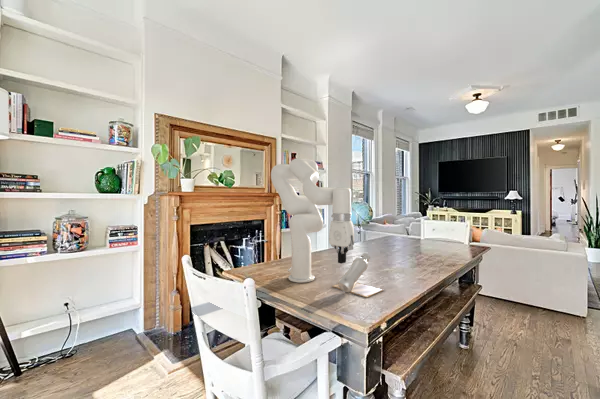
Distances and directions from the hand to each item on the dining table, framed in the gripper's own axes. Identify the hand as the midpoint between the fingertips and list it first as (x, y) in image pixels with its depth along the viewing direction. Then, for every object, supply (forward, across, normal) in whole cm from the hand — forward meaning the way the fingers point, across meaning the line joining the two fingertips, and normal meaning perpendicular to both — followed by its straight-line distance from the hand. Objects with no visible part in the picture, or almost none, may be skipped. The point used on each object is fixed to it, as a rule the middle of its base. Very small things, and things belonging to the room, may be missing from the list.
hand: (341, 262), depth 115 cm
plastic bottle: (+11, 0, 0) cm, 11 cm away
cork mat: (+13, 0, +10) cm, 17 cm away
